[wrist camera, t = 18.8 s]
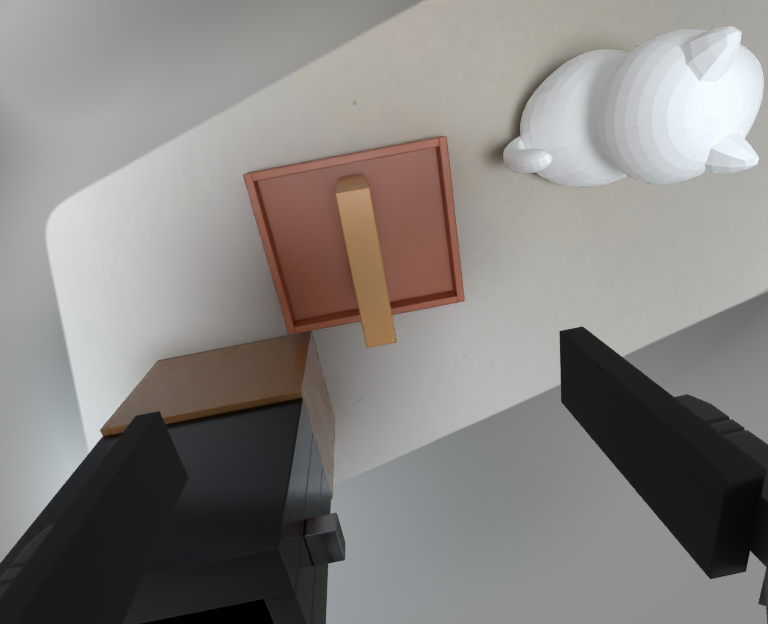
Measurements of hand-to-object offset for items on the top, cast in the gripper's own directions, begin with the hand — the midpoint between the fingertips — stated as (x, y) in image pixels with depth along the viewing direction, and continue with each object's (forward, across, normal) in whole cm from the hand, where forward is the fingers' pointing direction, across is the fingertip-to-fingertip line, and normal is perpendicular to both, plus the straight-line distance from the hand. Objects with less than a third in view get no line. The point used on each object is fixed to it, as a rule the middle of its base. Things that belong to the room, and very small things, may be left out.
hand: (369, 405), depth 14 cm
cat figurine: (+24, +18, +6) cm, 31 cm away
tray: (+24, +1, 0) cm, 24 cm away
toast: (+24, +1, 0) cm, 24 cm away
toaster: (+24, -12, -12) cm, 30 cm away
